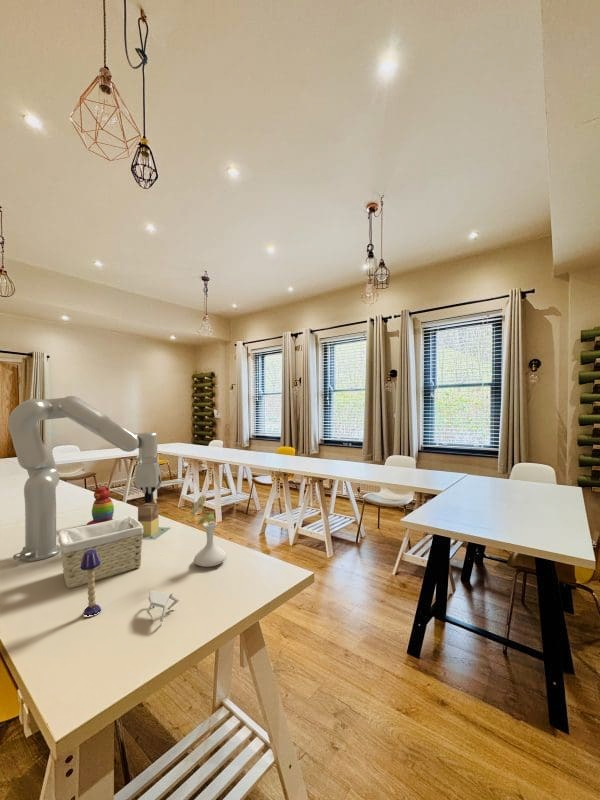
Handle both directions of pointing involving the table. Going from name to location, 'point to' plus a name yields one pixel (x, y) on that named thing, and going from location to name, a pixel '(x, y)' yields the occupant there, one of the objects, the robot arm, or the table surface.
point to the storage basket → (101, 549)
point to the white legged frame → (160, 601)
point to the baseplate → (156, 534)
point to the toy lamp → (91, 580)
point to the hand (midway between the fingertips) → (148, 502)
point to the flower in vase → (208, 540)
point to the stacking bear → (102, 506)
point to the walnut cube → (148, 512)
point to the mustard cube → (150, 527)
